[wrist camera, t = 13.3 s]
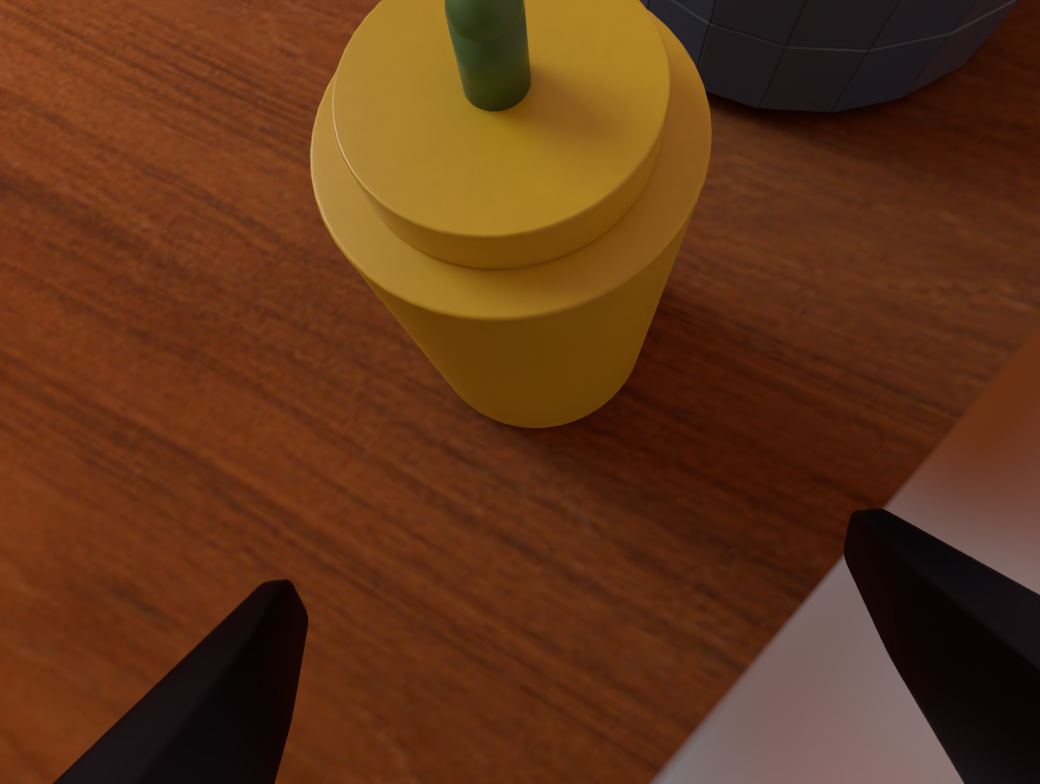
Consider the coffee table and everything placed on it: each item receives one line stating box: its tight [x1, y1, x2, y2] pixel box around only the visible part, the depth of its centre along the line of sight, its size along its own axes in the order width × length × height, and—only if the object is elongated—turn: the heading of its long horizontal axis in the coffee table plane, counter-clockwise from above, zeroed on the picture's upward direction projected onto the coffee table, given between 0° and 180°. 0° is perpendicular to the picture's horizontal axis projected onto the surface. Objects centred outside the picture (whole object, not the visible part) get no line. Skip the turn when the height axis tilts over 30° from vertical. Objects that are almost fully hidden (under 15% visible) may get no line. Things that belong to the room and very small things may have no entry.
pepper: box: [310, 0, 712, 428], centre depth 12 cm, size 7×7×12 cm
